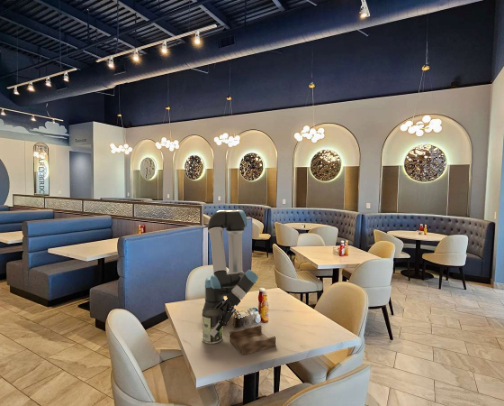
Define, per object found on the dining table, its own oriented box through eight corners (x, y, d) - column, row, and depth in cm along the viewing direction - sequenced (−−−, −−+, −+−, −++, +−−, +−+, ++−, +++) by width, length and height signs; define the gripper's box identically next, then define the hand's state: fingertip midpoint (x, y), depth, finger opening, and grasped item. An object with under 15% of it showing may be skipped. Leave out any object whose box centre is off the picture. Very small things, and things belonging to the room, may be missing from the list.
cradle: (260, 332, 160) (260, 324, 160) (275, 346, 146) (275, 337, 146) (229, 340, 151) (229, 331, 151) (242, 355, 138) (242, 345, 138)
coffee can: (224, 334, 157) (224, 308, 157) (219, 344, 147) (219, 316, 147) (205, 333, 159) (205, 307, 158) (199, 343, 149) (199, 315, 148)
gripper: (250, 306, 150) (221, 344, 143) (232, 293, 170) (205, 326, 163) (240, 298, 147) (210, 336, 140) (223, 285, 167) (196, 318, 160)
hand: (208, 330), depth 152 cm, fingers closed on coffee can, 10 cm apart
